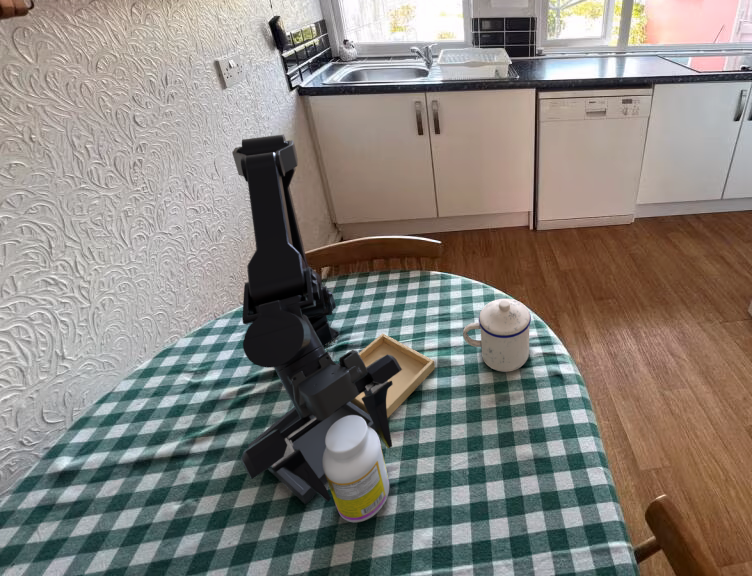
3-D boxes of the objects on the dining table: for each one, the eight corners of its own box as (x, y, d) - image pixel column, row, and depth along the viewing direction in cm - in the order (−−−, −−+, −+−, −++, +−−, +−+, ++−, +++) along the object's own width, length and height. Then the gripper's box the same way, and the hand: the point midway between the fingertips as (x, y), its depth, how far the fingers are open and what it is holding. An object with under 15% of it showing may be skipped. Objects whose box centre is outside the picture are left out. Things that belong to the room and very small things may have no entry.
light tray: (329, 387, 69) (326, 379, 68) (384, 340, 79) (382, 333, 78) (382, 424, 63) (380, 415, 62) (435, 368, 73) (434, 360, 72)
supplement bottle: (348, 469, 57) (331, 405, 52) (396, 470, 57) (383, 407, 52) (327, 524, 51) (305, 460, 46) (380, 526, 51) (364, 461, 45)
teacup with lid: (528, 334, 80) (528, 285, 75) (532, 372, 72) (533, 321, 67) (465, 336, 79) (462, 288, 74) (463, 376, 71) (459, 324, 66)
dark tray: (251, 453, 59) (247, 445, 58) (324, 391, 69) (322, 382, 68) (305, 504, 53) (302, 496, 52) (378, 428, 63) (376, 419, 62)
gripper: (217, 404, 40) (292, 555, 38) (383, 306, 53) (446, 416, 51) (216, 411, 48) (278, 536, 46) (361, 324, 61) (414, 420, 59)
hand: (361, 472), depth 50 cm, fingers open, 8 cm apart
